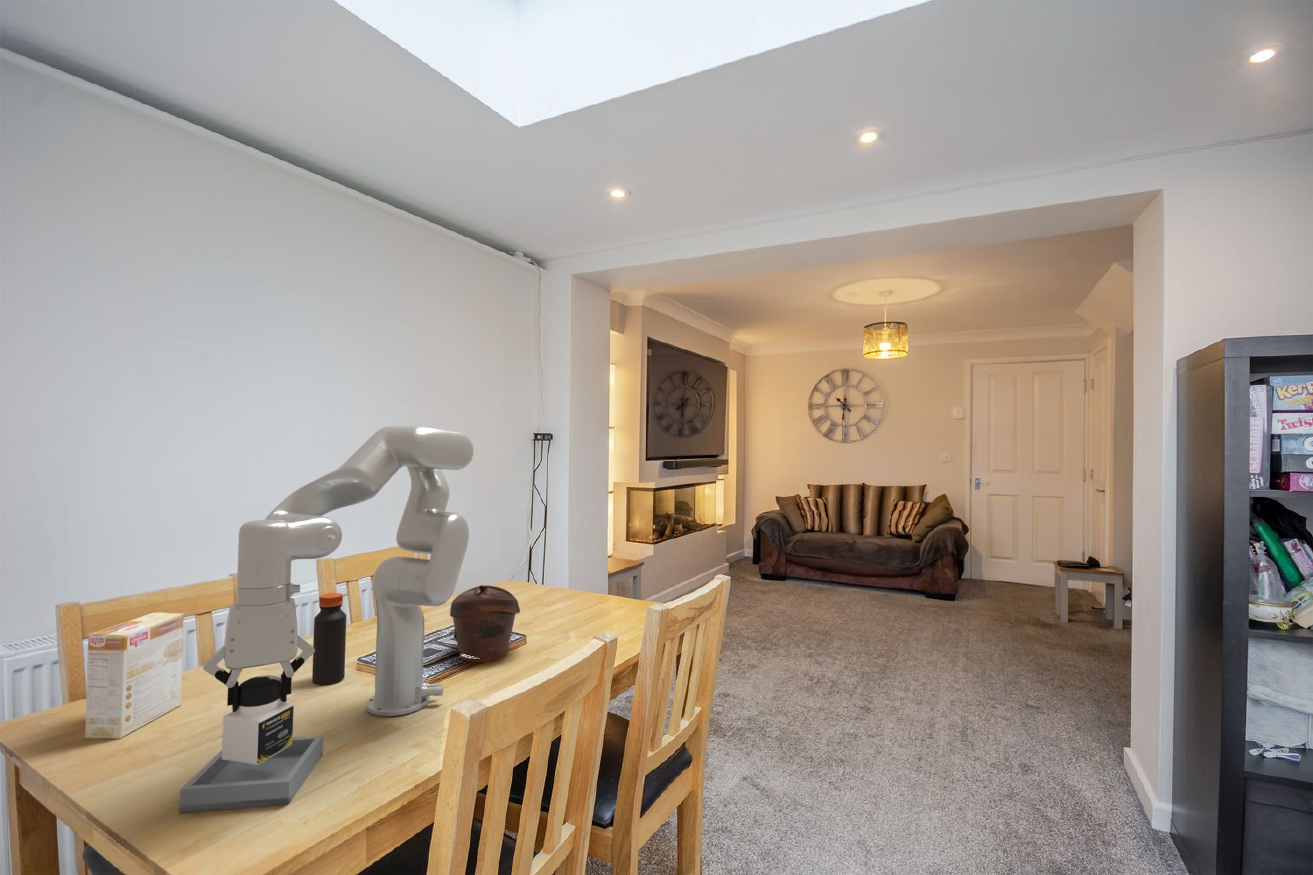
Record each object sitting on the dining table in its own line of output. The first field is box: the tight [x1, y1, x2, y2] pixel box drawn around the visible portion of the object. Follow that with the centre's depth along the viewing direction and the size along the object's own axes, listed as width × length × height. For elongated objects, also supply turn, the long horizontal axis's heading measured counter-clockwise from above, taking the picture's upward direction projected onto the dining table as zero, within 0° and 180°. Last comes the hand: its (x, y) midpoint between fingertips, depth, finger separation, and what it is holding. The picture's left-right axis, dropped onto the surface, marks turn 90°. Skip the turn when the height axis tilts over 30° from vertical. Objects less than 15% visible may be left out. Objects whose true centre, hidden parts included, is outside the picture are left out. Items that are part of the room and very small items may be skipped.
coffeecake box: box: [84, 612, 185, 740], centre depth 120 cm, size 15×7×20 cm, turn 1°
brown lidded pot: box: [449, 584, 521, 663], centre depth 163 cm, size 18×20×18 cm
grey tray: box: [178, 735, 324, 814], centre depth 100 cm, size 15×15×4 cm
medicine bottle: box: [221, 674, 295, 765], centre depth 100 cm, size 7×7×12 cm
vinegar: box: [311, 592, 347, 686], centre depth 142 cm, size 7×7×20 cm
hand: (259, 702), depth 100 cm, fingers closed on medicine bottle, 6 cm apart
